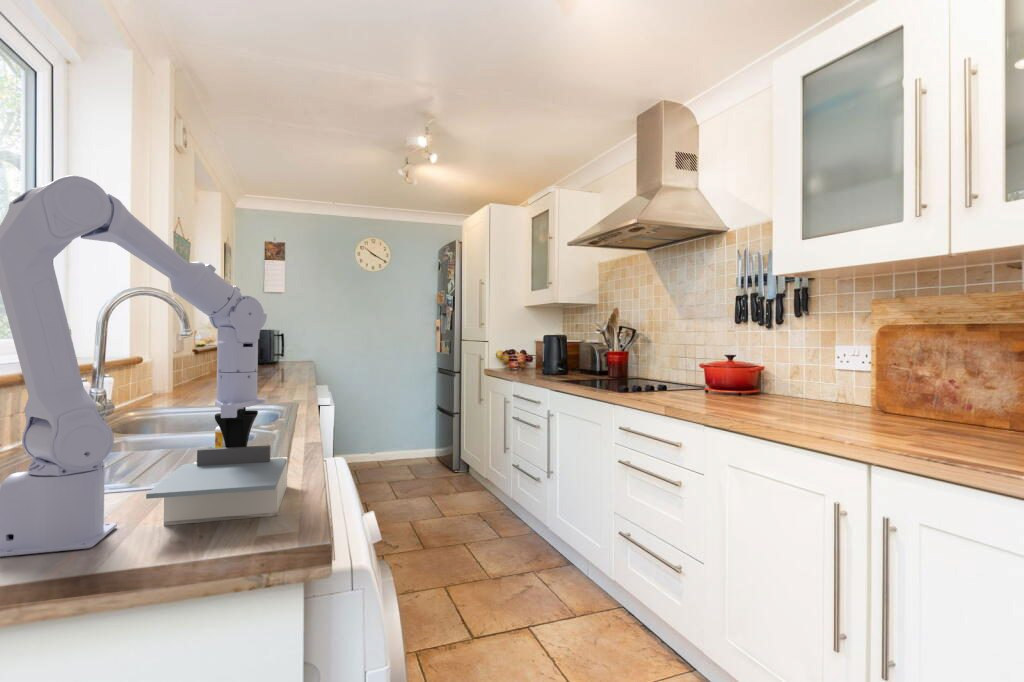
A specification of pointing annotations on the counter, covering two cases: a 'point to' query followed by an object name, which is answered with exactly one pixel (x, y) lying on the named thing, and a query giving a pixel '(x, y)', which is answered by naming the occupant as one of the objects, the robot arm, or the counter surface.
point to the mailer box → (225, 505)
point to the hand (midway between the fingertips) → (236, 457)
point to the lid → (223, 473)
